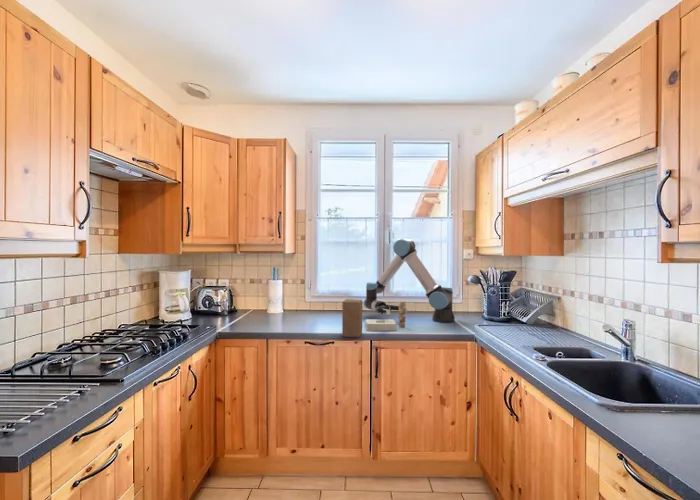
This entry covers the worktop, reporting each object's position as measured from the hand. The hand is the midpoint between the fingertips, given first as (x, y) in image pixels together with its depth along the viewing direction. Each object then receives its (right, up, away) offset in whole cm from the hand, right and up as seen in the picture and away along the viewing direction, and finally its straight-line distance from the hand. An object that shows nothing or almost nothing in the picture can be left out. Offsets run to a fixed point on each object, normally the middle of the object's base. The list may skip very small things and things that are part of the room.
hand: (398, 311), depth 235 cm
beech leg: (+2, -9, -2) cm, 10 cm away
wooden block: (-30, -10, -23) cm, 39 cm away
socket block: (-12, -9, -6) cm, 16 cm away
